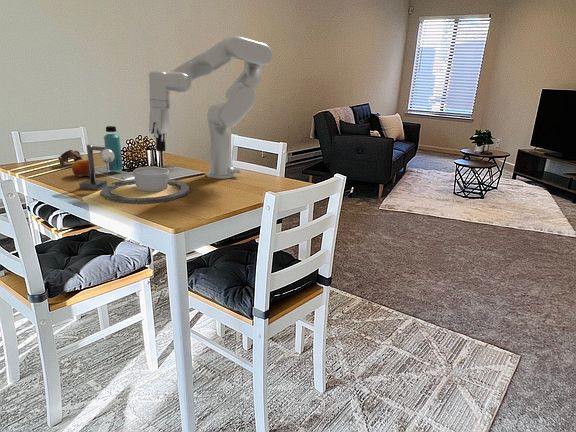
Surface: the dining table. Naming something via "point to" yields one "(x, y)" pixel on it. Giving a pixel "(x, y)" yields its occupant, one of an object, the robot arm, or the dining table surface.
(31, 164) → the dining table surface
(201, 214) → the dining table surface
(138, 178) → the ramekin
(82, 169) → the fruit
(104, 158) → the dial gauge stand
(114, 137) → the beverage bottle
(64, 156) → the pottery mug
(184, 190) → the ring
